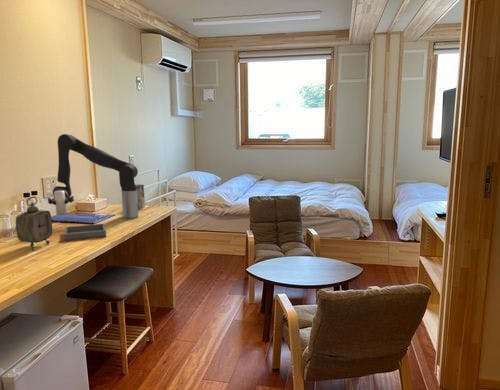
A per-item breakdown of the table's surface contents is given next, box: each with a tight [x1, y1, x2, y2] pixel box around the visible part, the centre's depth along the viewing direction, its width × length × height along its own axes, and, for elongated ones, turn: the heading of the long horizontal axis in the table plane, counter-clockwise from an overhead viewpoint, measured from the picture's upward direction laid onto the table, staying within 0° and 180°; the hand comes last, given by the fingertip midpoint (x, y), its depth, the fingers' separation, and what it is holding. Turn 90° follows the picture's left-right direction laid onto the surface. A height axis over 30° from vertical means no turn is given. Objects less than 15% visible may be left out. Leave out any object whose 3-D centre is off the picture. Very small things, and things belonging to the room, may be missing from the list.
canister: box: [53, 190, 68, 216], centre depth 228 cm, size 5×5×13 cm
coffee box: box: [135, 184, 146, 211], centre depth 281 cm, size 9×6×16 cm
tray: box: [64, 223, 107, 242], centre depth 220 cm, size 20×15×4 cm
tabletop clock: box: [15, 196, 53, 252], centre depth 198 cm, size 14×9×25 cm, turn 168°
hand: (60, 202), depth 225 cm, fingers closed on canister, 5 cm apart
